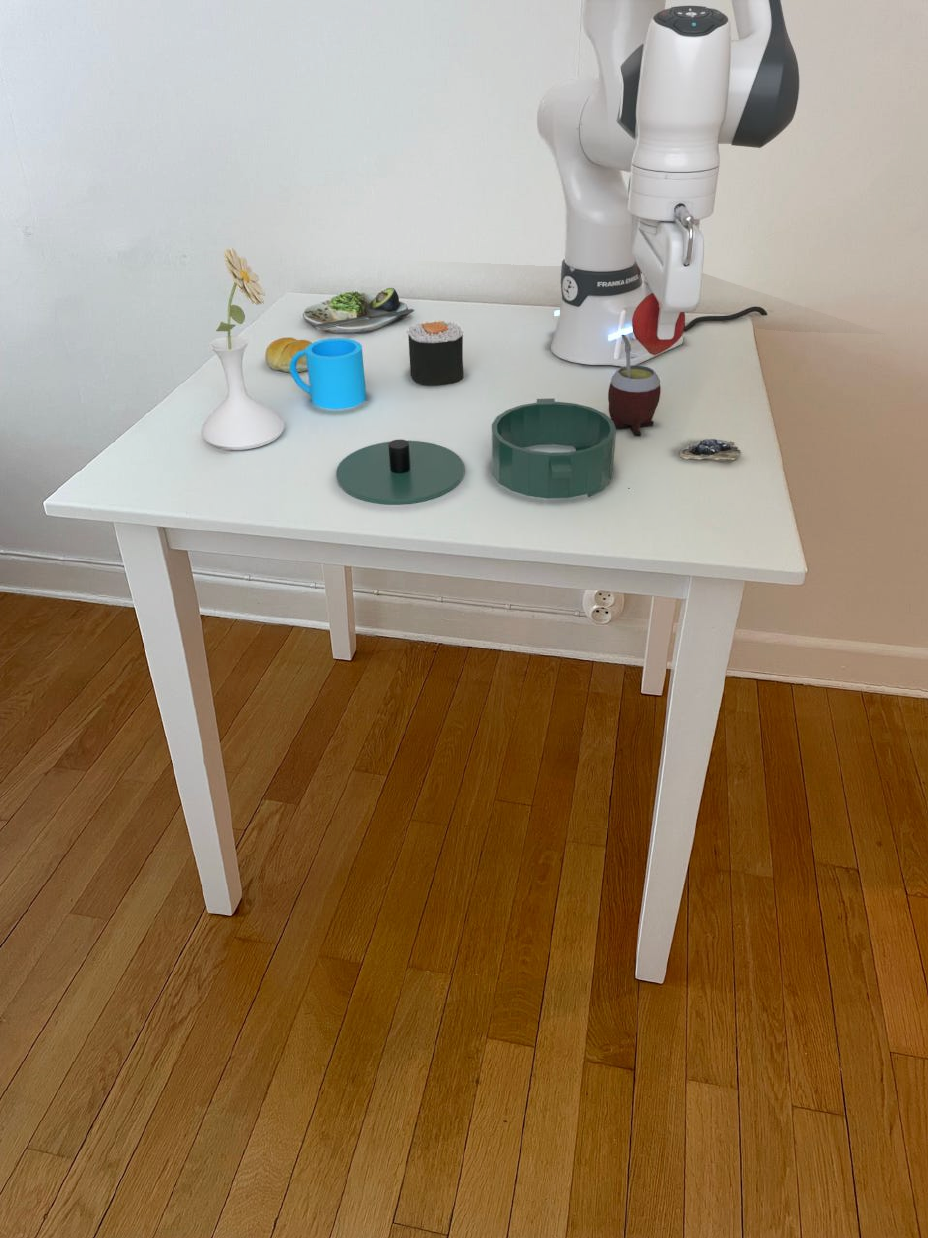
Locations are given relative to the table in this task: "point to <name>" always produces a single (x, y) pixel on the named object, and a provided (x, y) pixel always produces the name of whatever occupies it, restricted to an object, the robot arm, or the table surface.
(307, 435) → the table surface
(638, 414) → the mate gourd
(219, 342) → the flower in vase
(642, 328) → the onion
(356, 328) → the salad plate
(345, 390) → the mug
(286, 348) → the bread roll
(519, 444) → the pot
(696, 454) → the blueberries
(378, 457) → the lid
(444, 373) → the sushi
